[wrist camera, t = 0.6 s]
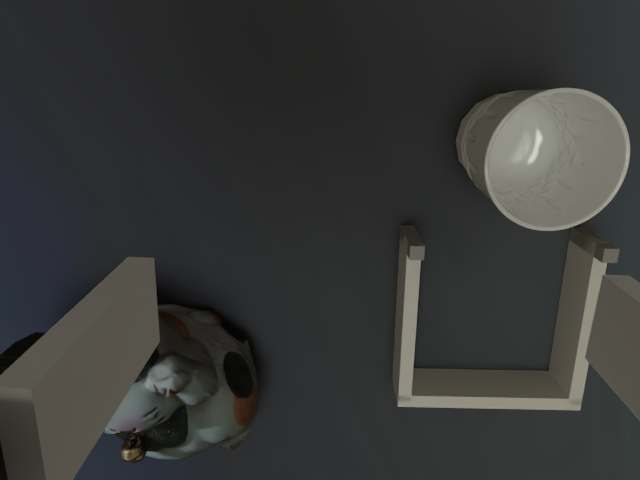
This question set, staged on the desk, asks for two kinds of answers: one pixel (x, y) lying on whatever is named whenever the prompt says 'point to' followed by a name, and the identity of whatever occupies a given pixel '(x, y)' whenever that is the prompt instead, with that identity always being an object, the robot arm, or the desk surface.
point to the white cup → (545, 154)
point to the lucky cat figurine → (189, 390)
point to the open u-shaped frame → (504, 385)
